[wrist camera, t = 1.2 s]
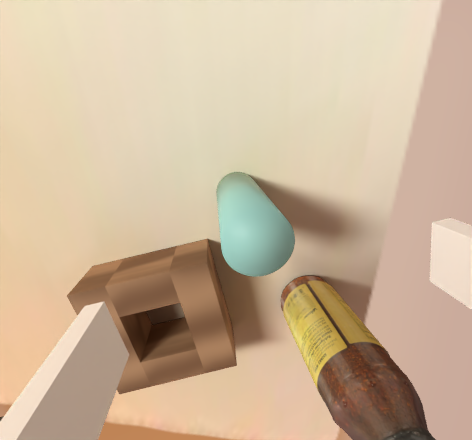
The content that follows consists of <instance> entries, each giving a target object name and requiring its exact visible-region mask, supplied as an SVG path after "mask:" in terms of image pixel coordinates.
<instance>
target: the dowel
mask: <svg viewBox="0 0 472 440" xmlns="http://www.w3.org/2000/svg"><path fill="white" fill-rule="evenodd" d="M217 204H218V215H219V227H220V239H221V249H222V254H223V257H224V259H225V261H226V262H227V263H228V265H229V266H230V267H231V268H232V269H234V270H235V271H237V272H238V273H241V274H243V275H247V276H264V275H268V274H271V273H273V272H275V271H277V270H278V269H280V268H281V267H282V266H283V265H284V264H285V263H286V262H287V261H288V259H289V258H290V256H291V254H292V252H293V249H294V244H295V236H294V231H293V228H292V226H291V224H290V223H289V222H288V220H287V219H286V218H285V217H284V215H283V214H282V213H281V212H280V211H279V210H278V208H277V207H276V206H275V205H274V204H273V202H272V201H271V200H270V199H269V198H268V196H267V195H266V194H265V193H264V192H263V191H262V189H261V188H260V187H259V186H258V185H257V183H256V182H255V181H254V180H253V179H252V178H251V177H250V176H249V175H247V174H245V173H241V172H234V173H230V174H228V175H226V176H225V177H224V178H223V179H222V180H221V181H220V182H219V184H218V187H217Z"/></svg>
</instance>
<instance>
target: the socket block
mask: <svg viewBox="0 0 472 440" xmlns="http://www.w3.org/2000/svg"><path fill="white" fill-rule="evenodd" d="M67 297H68V299H69V301H70V303H71V304H72V306H73V308H74V310H75V312H76V314H77V316H78V314H79V313H80V312H81V310H82V309H83V308H84V306H87V305H91V304H95V303H99V302H105V304H106V306H107V308H108V311H109V313H110V315H111V317H112V319H113V321H114V323H115V325H116V328H117V330H118V332H119V334H120V336H121V338H122V340H123V342H124V345H125V347H126V349H127V351H128V353H129V357H128V360H127V362H126V365H125V368H124V371H123V373H122V376H121V379H120V381H119V384H118V387H117V390H118V392H119V394H122V393H126V392H131V391H135V390H139V389H143V388H147V387H151V386H155V385H159V384H163V383H167V382H171V381H175V380H180V379H184V378H188V377H192V376H196V375H200V374H204V373H208V372H212V371H216V370H220V369H224V368H229V367H233V366H237V363H236V354H235V344H234V335H233V328H232V324H231V321H230V317H229V314H228V310H227V307H226V303H225V299H224V296H223V292H222V289H221V285H220V282H219V278H218V275H217V271H216V267H215V264H214V260H213V257H212V253H211V250H210V246H209V242H208V239H205V240H201V241H196V242H192V243H188V244H184V245H180V246H175V247H171V248H167V249H163V250H159V251H154V252H150V253H146V254H142V255H138V256H133V257H129V258H125V259H121V260H117V261H112V262H108V263H104V264H100V265H95V266H92V268H91V269H90V270H89V271H88V272H87V273H86V274H85V276H84V277H83V278H82V279H81V280H80V281H79V283H78V284H77V285H76V286H75V287H74V288H73V289H72V291H71V292H70V293H69V294H68V295H67ZM177 303H180V304H181V307H182V309H183V312H184V315H185V317H184V318H180V319H176V320H172V321H167V322H163V323H159V324H155V325H151V322H150V320H149V318H148V315H147V313H146V311H147V310H152V309H156V308H160V307H164V306H168V305H172V304H177Z"/></svg>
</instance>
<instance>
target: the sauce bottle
mask: <svg viewBox="0 0 472 440" xmlns="http://www.w3.org/2000/svg"><path fill="white" fill-rule="evenodd" d="M281 308H282V311H283V313H284V317H285V319H286V321H287V324H288V326H289V328H290V330H291V332H292V335H293V337H294V339H295V341H296V343H297V345H298V348H299V350H300V352H301V354H302V356H303V359H304V361H305V363H306V365H307V367H308V370H309V372H310V374H311V376H312V378H313V381H314V383H315V385H316V387H317V389H318V391H319V393H320V395H321V397H322V399H323V401H324V402H325V403H326V405H327V407H328V409H329V411H330V413H331V415H332V417H333V420H334V421H335V423H336V424H337V425H338V426H339V427H340V428H342V429H343V430H344V431H345V432H346V433H347V434H348V435H349V436H350V437H351V438H352V439H353V440H435V438H433V437H432V435H431V434H430V433H429V431H428V429H427V424H426V420H425V415H424V410H423V406H422V403H421V400H420V398H419V396H418V394H417V392H416V391H415V389H414V387H413V385H412V383H411V382H410V380H409V379H408V377H407V376H406V375H405V374H404V373H403V372H402V371H401V370H400V368H399V367H398V366H397V365H396V364H395V362H394V361H393V360H392V359H391V358H390V356H389V354H388V352H387V351H386V350H385V348H384V347H383V346H382V345H381V344H380V343H379V341H378V340H377V339H376V338H375V337H374V336H373V335H372V333H371V332H370V331H369V330H368V329H367V327H366V326H365V325H364V324H363V323H362V321H361V320H360V319H359V318H358V317H357V316H356V314H355V313H354V312H353V311H352V310H351V308H350V307H349V306H348V305H347V304H346V303H345V301H344V300H343V299H342V298H341V297H340V295H339V294H338V293H337V292H336V291H335V289H334V288H333V287H332V286H330V285H329V284H327V283H326V282H325V281H324V280H323V279H322V278H320V277H316V276H302V277H298V278H296V279H294V280H293V281H292V282H290V283H289V284H288V285H287V286H286V287H285V289H284V290H283V292H282V295H281Z"/></svg>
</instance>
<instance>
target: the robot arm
mask: <svg viewBox="0 0 472 440" xmlns="http://www.w3.org/2000/svg"><path fill="white" fill-rule="evenodd" d="M430 282H431V283H433V284H434V285H436V286H437V287H439V288H440V289H442V290H443V291H445V292H446V293H448V294H449V295H451V296H452V297H453V298H455V299H457V300H458V301H459V302H461V303H462V304H464V305H465V306H467V307H468V308H470V309H471V310H472V225H470V224H467V223H464V222H461V221H458V220H456V219H453V218H448V219H443V220H439V221H435V222H432V235H431V259H430ZM128 357H129V353H128V351H127V349H126V347H125V345H124V342H123V340H122V338H121V336H120V334H119V332H118V330H117V328H116V325H115V323H114V321H113V319H112V317H111V315H110V313H109V311H108V308H107V306H106V304H105V302H99V303H95V304H91V305H87V306H84V308H83V309H82V310H81V312H80V313H79V314H78V316H77V317H76V319H75V320H74V321H73V323H72V324H71V325H70V327H69V328H68V329H67V331H66V332H65V334H64V335H63V336H62V338H61V339H60V340H59V342H58V343H57V345H56V346H55V347H54V349H53V350H52V351H51V353H50V354H49V355H48V357H47V358H46V360H45V361H44V362H43V364H42V365H41V366H40V368H39V369H38V371H37V372H36V373H35V375H34V376H33V377H32V379H31V380H30V382H29V383H28V384H27V386H26V387H25V388H24V390H23V391H22V392H21V394H20V395H19V397H18V398H17V399H16V401H15V402H14V403H13V405H12V406H11V408H10V409H9V410H8V412H7V413H6V415H5V416H3V417H0V440H98V438H99V436H100V433H101V430H102V428H103V425H104V422H105V419H106V417H107V414H108V411H109V409H110V406H111V403H112V400H113V398H114V395H115V392H116V390H117V387H118V384H119V381H120V379H121V376H122V373H123V371H124V368H125V365H126V362H127V360H128Z"/></svg>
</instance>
